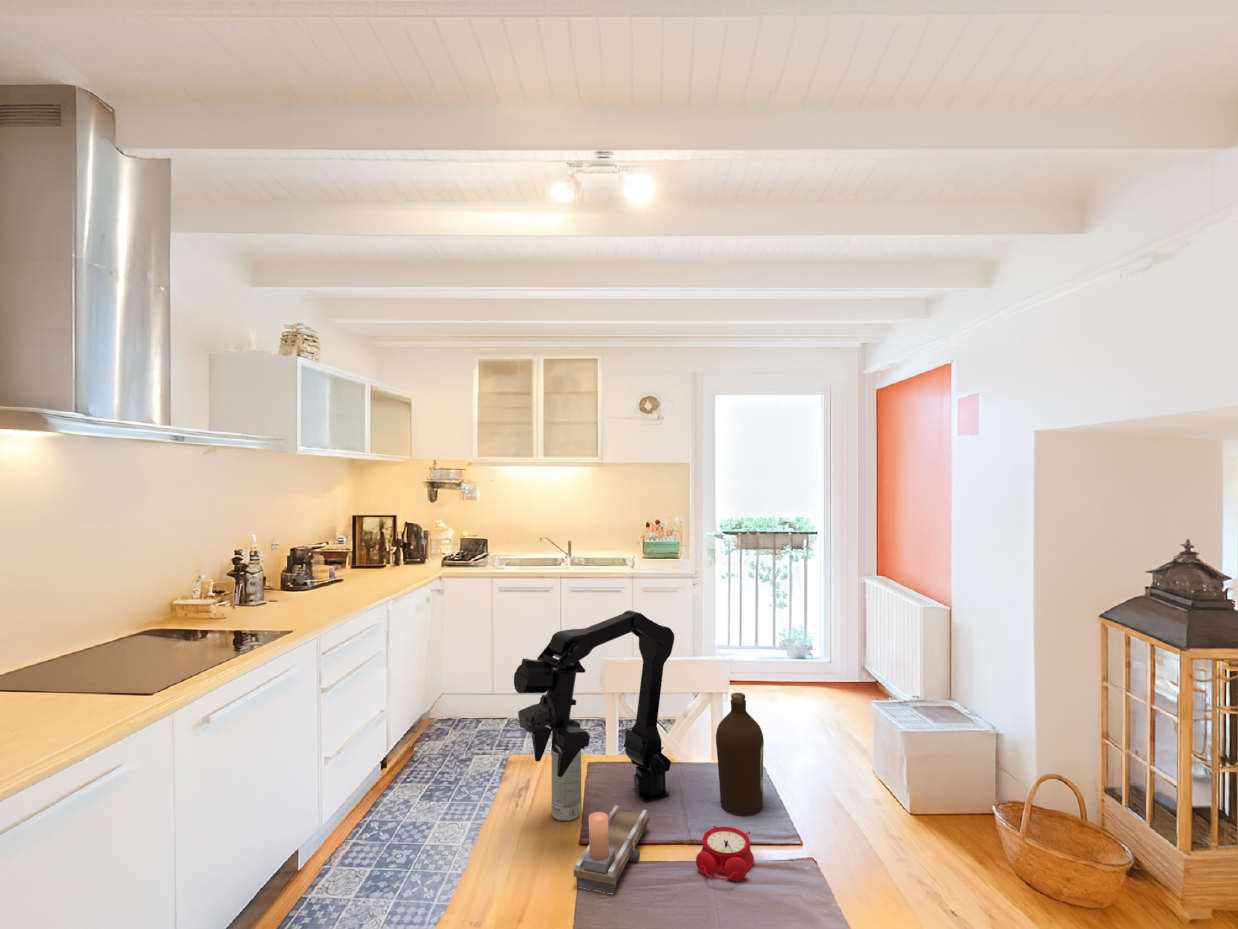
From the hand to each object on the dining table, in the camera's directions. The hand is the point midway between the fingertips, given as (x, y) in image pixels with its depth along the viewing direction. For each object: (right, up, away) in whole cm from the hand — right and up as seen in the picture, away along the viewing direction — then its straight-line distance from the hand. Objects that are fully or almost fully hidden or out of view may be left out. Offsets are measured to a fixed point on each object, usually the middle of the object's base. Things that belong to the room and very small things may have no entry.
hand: (548, 768), depth 138 cm
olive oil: (+43, -13, +10) cm, 46 cm away
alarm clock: (+35, -13, -12) cm, 40 cm away
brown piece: (+14, -14, -8) cm, 21 cm away
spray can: (+3, -14, +8) cm, 17 cm away
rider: (+11, -10, -16) cm, 22 cm away
